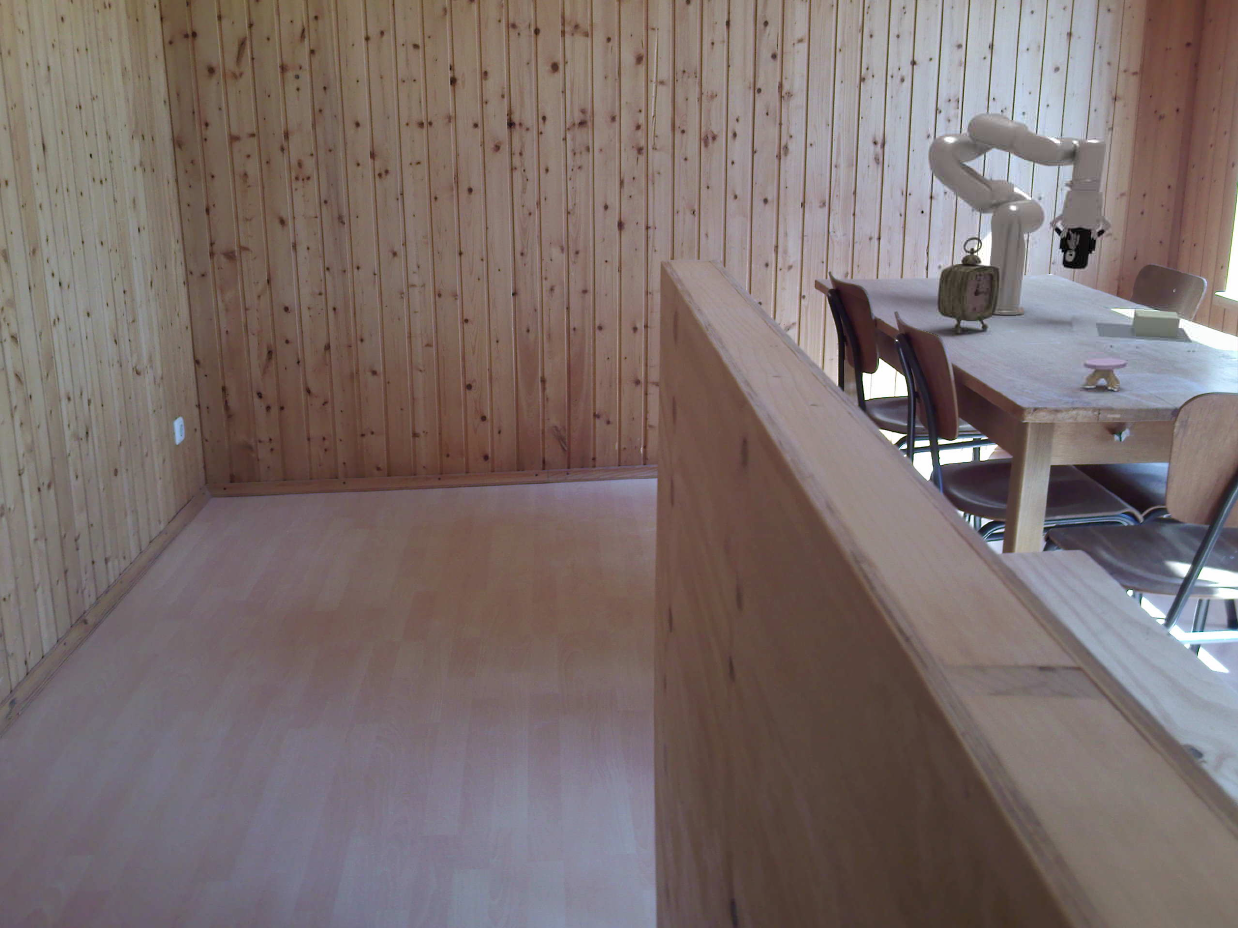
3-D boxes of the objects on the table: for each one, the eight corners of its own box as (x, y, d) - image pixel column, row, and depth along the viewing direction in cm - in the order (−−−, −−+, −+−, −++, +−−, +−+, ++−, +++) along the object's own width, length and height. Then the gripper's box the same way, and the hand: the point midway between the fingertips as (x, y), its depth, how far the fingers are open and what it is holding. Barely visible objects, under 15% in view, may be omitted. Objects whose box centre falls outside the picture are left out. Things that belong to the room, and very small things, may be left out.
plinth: (1135, 335, 294) (1137, 316, 293) (1132, 328, 303) (1134, 309, 302) (1177, 337, 291) (1180, 318, 290) (1172, 330, 300) (1175, 312, 299)
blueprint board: (1098, 339, 293) (1099, 336, 293) (1094, 326, 311) (1095, 322, 311) (1191, 346, 286) (1192, 342, 286) (1182, 331, 304) (1182, 328, 304)
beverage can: (1089, 269, 309) (1095, 225, 305) (1063, 269, 310) (1069, 224, 306) (1084, 266, 315) (1090, 223, 311) (1059, 265, 316) (1065, 222, 312)
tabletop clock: (958, 336, 296) (967, 240, 289) (931, 330, 304) (940, 237, 296) (994, 330, 304) (1004, 237, 296) (967, 325, 311) (977, 234, 304)
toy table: (1111, 381, 250) (1115, 356, 248) (1134, 391, 242) (1139, 365, 240) (1070, 382, 249) (1073, 357, 247) (1092, 393, 240) (1096, 366, 238)
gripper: (1051, 186, 305) (1043, 253, 310) (1120, 188, 299) (1111, 256, 305) (1051, 184, 311) (1043, 249, 317) (1118, 186, 306) (1109, 253, 312)
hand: (1076, 252), depth 311 cm, fingers closed on beverage can, 6 cm apart
